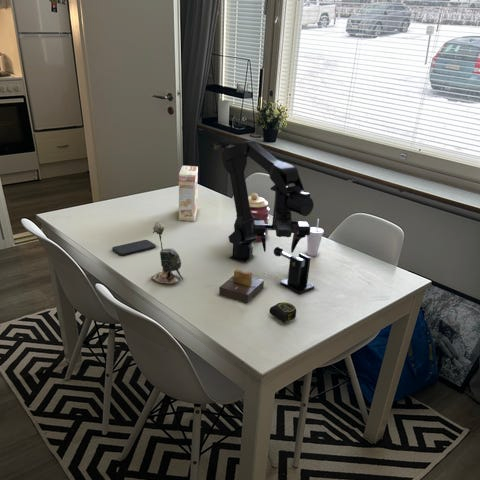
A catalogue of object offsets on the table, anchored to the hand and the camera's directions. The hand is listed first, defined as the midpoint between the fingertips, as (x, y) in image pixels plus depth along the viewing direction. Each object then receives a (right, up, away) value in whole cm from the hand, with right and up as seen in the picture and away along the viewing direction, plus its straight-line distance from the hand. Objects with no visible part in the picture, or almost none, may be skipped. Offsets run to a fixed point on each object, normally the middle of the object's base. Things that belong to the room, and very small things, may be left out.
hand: (278, 252), depth 170 cm
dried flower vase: (-36, -10, -3) cm, 38 cm away
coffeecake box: (-35, +23, +52) cm, 67 cm away
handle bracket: (+6, -12, -2) cm, 13 cm away
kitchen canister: (-8, +11, +35) cm, 37 cm away
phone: (-52, +4, +17) cm, 55 cm away
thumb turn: (-12, -11, -8) cm, 18 cm away
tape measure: (0, -23, -20) cm, 30 cm away
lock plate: (-12, -14, -7) cm, 20 cm away
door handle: (+3, -3, -2) cm, 5 cm away
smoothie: (+15, +2, +23) cm, 27 cm away
